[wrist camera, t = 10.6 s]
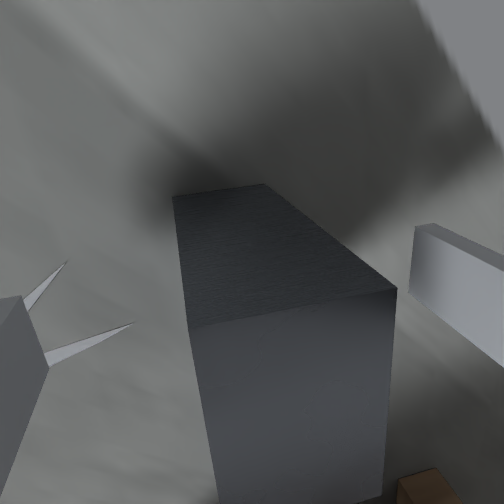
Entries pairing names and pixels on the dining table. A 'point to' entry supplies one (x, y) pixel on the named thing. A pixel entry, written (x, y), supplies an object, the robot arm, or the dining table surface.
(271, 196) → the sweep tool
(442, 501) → the cabinet
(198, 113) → the dining table surface
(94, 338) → the scissors
